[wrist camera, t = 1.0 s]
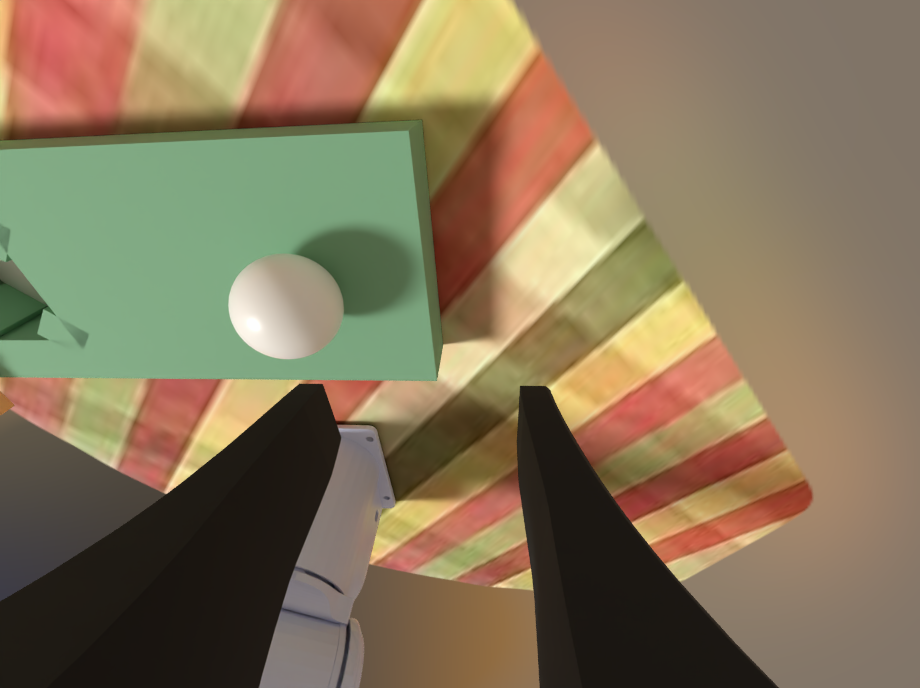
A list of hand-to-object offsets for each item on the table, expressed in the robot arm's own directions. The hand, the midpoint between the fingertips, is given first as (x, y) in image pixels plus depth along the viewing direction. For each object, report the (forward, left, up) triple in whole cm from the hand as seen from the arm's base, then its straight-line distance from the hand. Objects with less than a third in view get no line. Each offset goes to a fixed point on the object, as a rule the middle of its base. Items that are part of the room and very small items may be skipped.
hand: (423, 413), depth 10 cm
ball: (0, +6, -5) cm, 8 cm away
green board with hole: (-1, +14, -10) cm, 17 cm away
